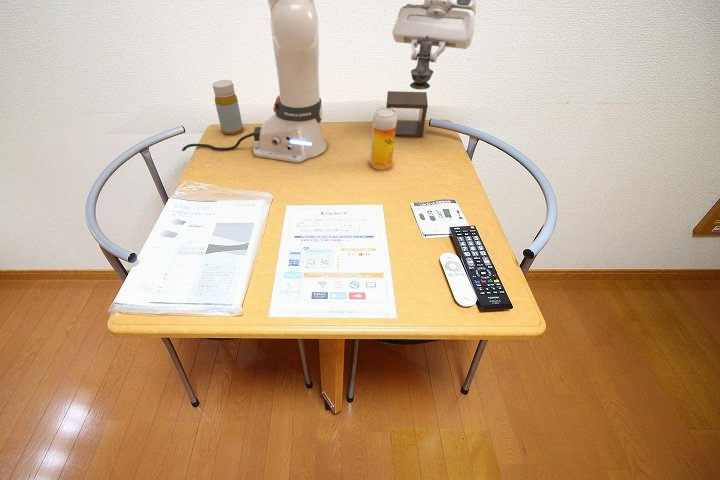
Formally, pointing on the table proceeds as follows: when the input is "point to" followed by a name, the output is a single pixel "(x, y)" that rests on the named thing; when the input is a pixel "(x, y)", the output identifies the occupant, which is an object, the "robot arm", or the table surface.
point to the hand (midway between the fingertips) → (423, 60)
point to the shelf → (414, 102)
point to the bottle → (227, 107)
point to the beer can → (383, 138)
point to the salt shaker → (422, 66)
